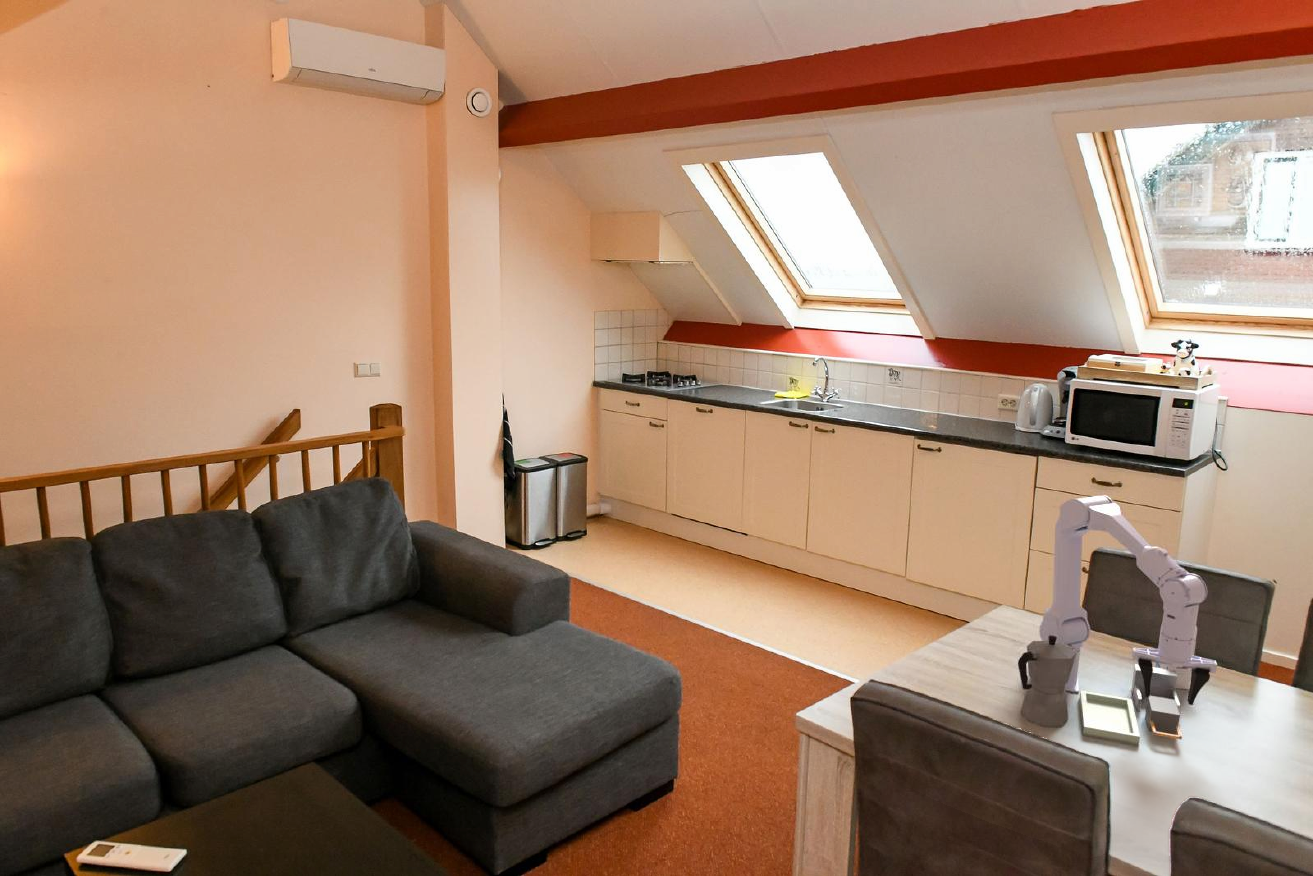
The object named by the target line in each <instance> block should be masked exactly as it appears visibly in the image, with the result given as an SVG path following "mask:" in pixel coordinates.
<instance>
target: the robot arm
mask: <svg viewBox="0 0 1313 876" xmlns="http://www.w3.org/2000/svg"><path fill="white" fill-rule="evenodd" d="M1090 531H1099V532H1106V533H1108V534H1109V535H1110V536H1111V537H1112V538H1114V540H1116V541H1117V542H1118V543H1119V544H1121V545H1122V546H1123V547H1124V548H1125V549H1126V550H1128V551H1129V552H1130V553H1131V554H1132V555H1134V556H1135V557H1136V558H1135V559H1136V567H1137V568H1138V569H1139V570H1140V571H1141V572H1142V573H1143V574H1144V575H1145V576H1147V578H1149V579H1150V581H1151V582H1152V583H1153V584H1154V585H1156V587H1157V588H1158V589H1159V595H1160V598H1161V600H1162V602H1163V603H1162V604H1163V606H1162V609H1163V615H1162V622H1161V625H1162V629H1161V628H1160V631H1161V635H1160V634H1159V638H1160V643H1159V642H1158V645H1159V649H1158V648H1142V647H1140V648H1139V647H1132V652H1131V659H1132V660H1133V661H1137V663H1138V664H1137V665H1139V667H1140V670H1141V673H1142V676H1143V680H1144V694H1145V697H1144V698H1147V697H1149V695H1150V683H1151V677H1152V673H1153V668H1152V667H1153V663H1155V664H1156V663H1162V664H1168V665H1171V666H1173V667H1180V668H1182V667H1186V668H1192V671H1191V678H1190V685H1189V689H1188V692H1187V698H1186V699H1187V703H1188V705H1190V706H1193V705H1194V702H1195V699H1196V697H1197V696H1198V694H1199V692H1200V691H1201V690H1202V688H1203V687H1204V686H1205V685H1206V684H1207V683H1208V682H1209V680H1210V678H1211V675H1210V674H1217V669H1218V663H1217V661H1216V660H1213V659H1210V658H1205V657H1201V656H1198V655H1195V654H1194V655H1192V648H1193V642H1194V635H1195V629H1196V627H1197V621H1198V613H1199V607H1200V604H1201V603H1202V602H1204V601H1205V600H1206V599H1207V597H1208V587H1207V585H1206V583H1205V581H1204V580H1203V578H1202V577H1201V576H1200V575H1198V574H1196V573H1189V572H1188V571H1187V570H1186V569H1185V568H1184V567H1182V566H1180V565H1179V564H1178V563H1177V562H1176V561H1175V560H1174V559H1173V558H1172V557H1171V556H1170V555H1169V554H1170V553H1169V552H1168V551H1167V550H1166V549H1165V548H1161V547H1160V546H1151V545H1150V544H1149V543H1148V542H1147V541H1146V539H1144V537H1143V536H1141V534H1140V533H1139V532H1138V531H1137V530H1136V529H1135V527H1133V525H1132V524H1131V523H1130V522H1129V521H1128V520H1127V519H1126V518H1125V517H1124V515H1123V514H1122V512H1121V506H1120V505H1119V504H1117V503H1116V502H1114V500H1113V499H1112V498H1111V497H1110V496H1109V495H1108V496H1107V495H1105V494H1098V495H1095V496H1086V497H1080V498H1070V499H1067V501H1065V502H1064V503H1062V504H1060V505H1059V516H1058V518H1057V520H1056V523H1055V528H1054V552H1053V553H1054V555H1053V559H1054V560H1053V585H1052V586H1053V587H1052V588H1053V589H1052V590H1053V591H1052V603H1051V604H1050V605H1049V607H1047V609H1045V611H1044V612H1043V614H1042V615H1043V616H1042V621H1041V623H1040V625H1039V628H1038V629H1039V631H1038V632H1039V637H1040V640H1041V641H1049V638H1048V636H1049V635H1053V636H1056V637H1057V639H1056V643H1059V644H1060V643H1063V644H1070V645H1072V646H1073V647H1075V648H1074V649H1073V651H1074V652H1075V653H1076V656H1075V660H1074V663H1073V666H1072V670H1071V673H1070V677H1069V680H1068V682H1067V684H1066V685H1065V691H1066V692H1072V693H1075V694H1076V693H1077V694H1078V693H1080V686H1079V685H1080V684H1079V678H1078V673H1079V666H1080V665H1079V664H1080V657H1081V648H1082V647H1083V646H1084V642H1087V641H1088V639H1089V638H1090V636H1091V626H1090V624H1089V621H1088V612H1087V610H1086V609H1084V608H1083V606H1081V588H1082V587H1081V583H1082V582H1081V581H1082V557H1083V555H1082V554H1083V553H1082V551H1083V536H1085V535H1086V534H1087V533H1089V532H1090Z"/></svg>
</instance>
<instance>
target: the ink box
mask: <svg viewBox="0 0 1313 876" xmlns="http://www.w3.org/2000/svg"><path fill="white" fill-rule="evenodd" d="M1161 629H1162V624H1161V625H1160V632H1159V636H1160V635H1161ZM1197 635H1198V627H1197V626H1196V629H1195V635H1194V642H1193V648H1192V655H1194V656H1195V650H1196V644H1197V641H1196V640H1197ZM1159 643H1160V637H1159V640H1158V644H1157V645H1158V647H1157V649H1159ZM1155 668H1161V669H1167V670H1174V671H1176V674H1177V682H1176V689H1180V690H1181V689H1182V690H1183V689H1184V690H1189V688H1190V683H1191V672H1192V668H1186V667H1182V668H1180V667H1173V666H1171V665H1168V664H1162V663H1156V662H1155Z"/></svg>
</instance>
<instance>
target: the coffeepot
mask: <svg viewBox="0 0 1313 876" xmlns="http://www.w3.org/2000/svg"><path fill="white" fill-rule="evenodd" d="M1048 638H1049V641H1042V640H1032V641H1031V642H1030V643H1029V644H1028V645H1026V650H1027V651H1025V652H1023V654H1021V656H1020V657H1019V659H1018V661H1017V667H1018V672H1019V676H1020V682H1021V688H1022V689H1023V690H1026V691H1025V694H1024V698H1023V702H1022V704H1021V708H1020V711H1019V712H1020V713H1021V715H1022V714H1023V715H1022V716H1023V718H1024V719H1026V720H1027V719H1028V720H1029V722H1030V723H1032V724H1035V723H1036V724H1035V725H1038V726H1041V727H1047V728H1058V727H1063V726H1064V725H1066V723H1067V721H1069V712H1068V696H1067V691H1065V685H1066V684H1067V682H1068V680H1069V677H1070V673H1071V670H1072V666H1073V663H1074V660H1075V656H1076V653H1075V652H1074V651H1073V649H1074V648H1075V647H1073V646H1072V645H1070V644H1063V643H1060V644H1059V643H1056V639H1057V637H1056V636H1053V635H1049V636H1048ZM1027 667H1028V668H1027ZM1027 671H1028V673H1027ZM1029 678H1030V681H1029V682H1030V683H1029V684H1028V680H1029ZM1028 720H1027V721H1028Z"/></svg>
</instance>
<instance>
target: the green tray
mask: <svg viewBox="0 0 1313 876" xmlns="http://www.w3.org/2000/svg"><path fill="white" fill-rule="evenodd" d="M1078 701H1079V707H1080V716H1081V717H1080V718H1081V725H1082V727H1081V728H1082V734H1083V737H1089V738H1094V739H1099V740H1103V741H1104V740H1105V741H1110V742H1115V743H1119V744H1126V745H1132V746H1137V747H1139V746H1140V742H1141V741H1140V738H1141V736H1140V735H1141V734H1140V730H1139V726H1138V722H1137V718H1136V713H1135V708H1134V703H1133V700H1132V698H1127V697H1121V696H1116V695H1111V694H1105V693H1098V692H1092V691H1086V690H1080V689H1079V700H1078Z"/></svg>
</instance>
